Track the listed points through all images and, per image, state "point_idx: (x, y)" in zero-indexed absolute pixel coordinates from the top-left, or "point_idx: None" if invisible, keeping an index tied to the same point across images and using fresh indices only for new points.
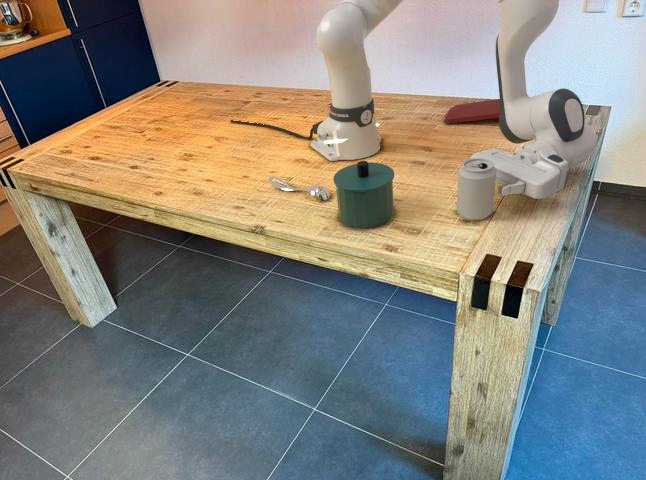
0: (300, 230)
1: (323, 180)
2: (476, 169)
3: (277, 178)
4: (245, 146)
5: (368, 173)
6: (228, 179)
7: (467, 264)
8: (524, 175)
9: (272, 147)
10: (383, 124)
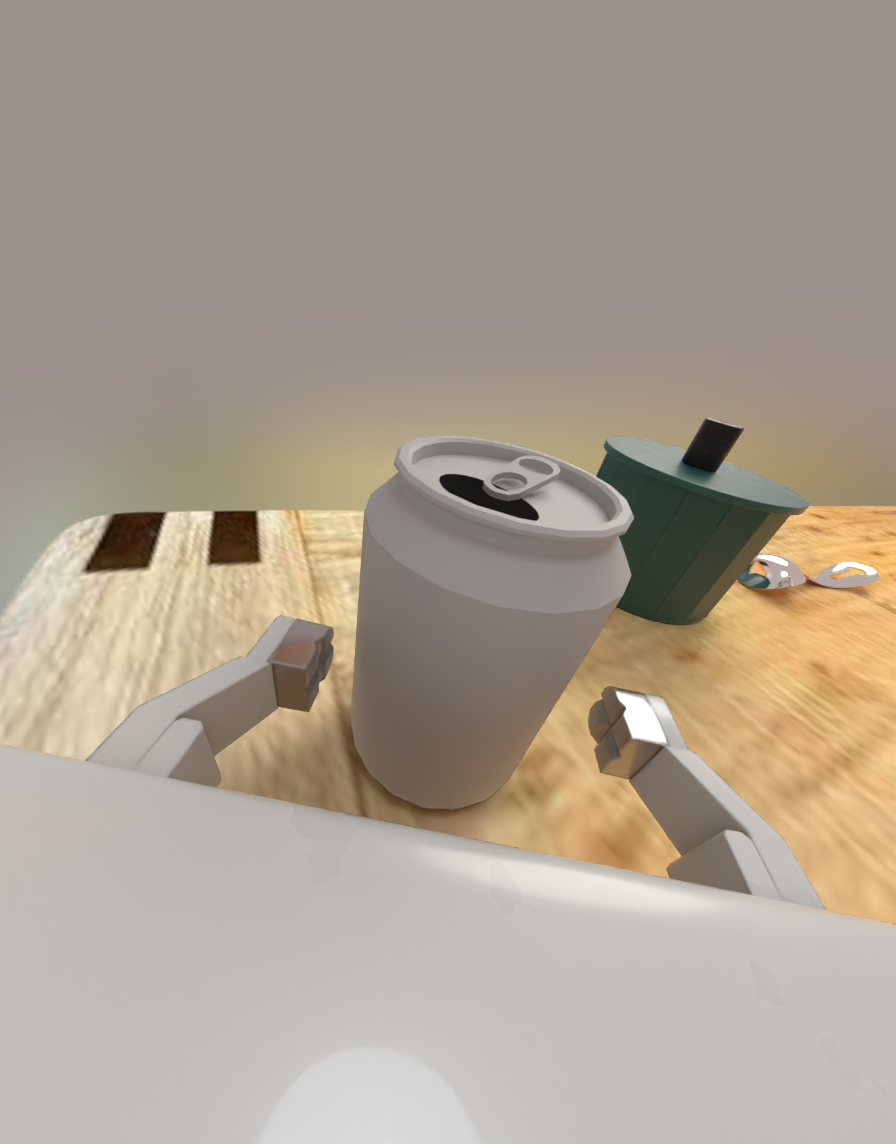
0: None
1: (882, 639)
2: (478, 469)
3: (871, 577)
4: None
5: (695, 457)
6: (885, 566)
7: (291, 525)
8: (79, 847)
9: None
10: None
